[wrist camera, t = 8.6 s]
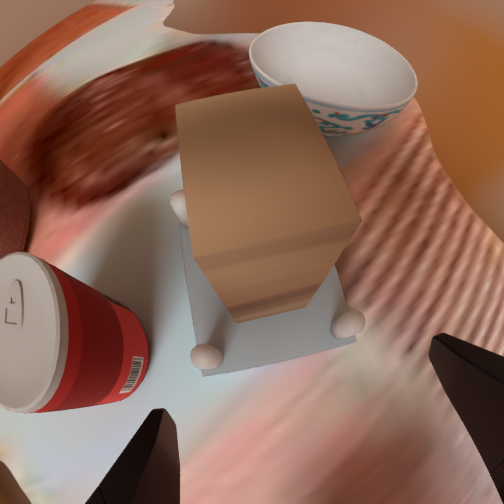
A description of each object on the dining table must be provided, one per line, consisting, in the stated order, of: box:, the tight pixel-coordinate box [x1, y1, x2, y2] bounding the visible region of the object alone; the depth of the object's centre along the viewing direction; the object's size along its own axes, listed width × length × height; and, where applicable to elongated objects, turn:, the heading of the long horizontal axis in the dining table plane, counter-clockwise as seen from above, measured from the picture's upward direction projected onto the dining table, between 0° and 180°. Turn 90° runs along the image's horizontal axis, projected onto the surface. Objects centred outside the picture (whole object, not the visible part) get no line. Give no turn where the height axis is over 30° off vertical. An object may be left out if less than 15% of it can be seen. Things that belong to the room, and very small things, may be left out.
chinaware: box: [249, 22, 418, 136], centre depth 24 cm, size 15×15×8 cm
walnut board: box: [175, 84, 362, 323], centre depth 14 cm, size 6×4×12 cm
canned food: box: [0, 252, 149, 413], centre depth 15 cm, size 8×8×11 cm
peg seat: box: [170, 190, 365, 377], centre depth 19 cm, size 12×10×5 cm
